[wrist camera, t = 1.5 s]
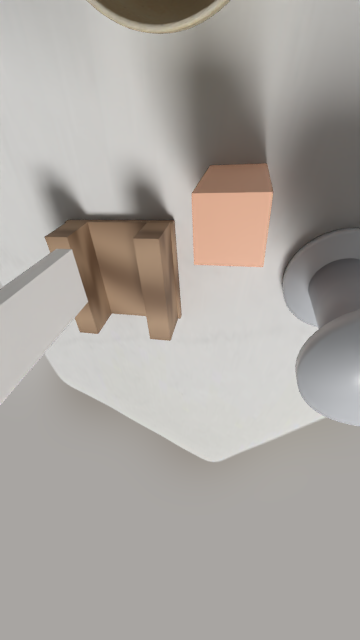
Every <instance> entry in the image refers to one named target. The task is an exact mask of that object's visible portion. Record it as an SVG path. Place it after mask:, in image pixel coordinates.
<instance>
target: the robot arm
mask: <svg viewBox="0 0 360 640" xmlns="http://www.w3.org/2000/svg"><path fill="white" fill-rule="evenodd" d="M87 303H88V300H87V296H86V293H85V290H84V287H83V284H82V280H81V277H80V274H79V271H78V267H77V264H76V261H75V258H74V254H73V251H72V249H55V250H54V251H53V252H51V253H50V254H48V255H47V256H46V257H44V258H43V259H41V260H40V261H39V262H37V263H36V264H34V265H33V266H32V267H30V268H29V269H28V270H26V271H25V272H23V273H22V274H21V275H19V276H18V277H16V278H15V279H14V280H12V281H11V282H9V283H8V284H7V285H5V286H4V287H2V288H1V289H0V405H1V404H2V403H3V401H4V400H5V399H6V398H7V397H8V396H9V394H10V393H11V392H12V391H13V390H14V389H15V387H16V386H17V385H18V384H19V383H20V382H21V380H22V379H23V378H24V377H25V376H26V374H27V373H28V372H29V371H30V370H31V369H32V367H33V366H34V365H35V364H36V363H37V361H38V360H39V359H40V358H41V357H42V355H43V354H44V353H45V352H46V351H47V350H48V349H49V347H50V346H51V345H52V344H53V343H54V341H55V340H56V339H57V338H58V337H59V336H60V334H61V333H62V332H63V331H64V330H65V329H66V327H67V326H68V325H69V324H70V323H71V321H72V320H73V319H74V318H75V317H76V316H77V314H78V313H79V312H80V311H81V310H82V309H83V307H84V306H85V305H86V304H87Z"/></svg>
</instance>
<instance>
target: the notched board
mask: <svg viewBox="0 0 360 640" xmlns="http://www.w3.org/2000/svg"><path fill="white" fill-rule="evenodd" d="M45 239H46V242H47V245H48V247H49V250H50V253H51V252H53V251H54V250H55V249H72V251H73V254H74V258H75V261H76V264H77V267H78V271H79V274H80V277H81V280H82V284H83V287H84V290H85V293H86V296H87V300H88V303H87V304H86V305H85V306H84V307H83V309H82V310H81V311H80V312H79V313H78V314H77V316H76V317H75V320H76V322H77V325H78V328H79V330H80V332H84V333H94V334H98V333H99V332H100V330H101V329H102V327H103V326H104V324H105V323H106V321H107V320H108V318H109V317H110V315H111V314H112V313H114V314H127V315H140V316H146V317H147V322H148V328H149V334H150V339H158V340H169V341H170V340H171V337H172V334H173V332H174V329H175V326H176V323H177V320H178V318H179V319H180V318H181V301H180V288H179V274H178V261H177V248H176V234H175V221H174V220H67V221H66V222H65V224H64V225H62V226H61V227H59V228H57V229H56V230H54V231H53V232H51V233H50V234H48V235H47V236H45Z"/></svg>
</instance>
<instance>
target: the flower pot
mask: <svg viewBox="0 0 360 640" xmlns="http://www.w3.org/2000/svg"><path fill="white" fill-rule="evenodd" d="M86 1H87V2H89V3H90V4H91V5H92V6H93V7H94V8H96V9H97V10H98V11H99V12H100V13H102V14H103V15H105V16H106V17H108V18H109V19H111V20H113V21H115V22H116V23H118V24H120V25H122V26H125V27H127V28H130V29H133V30H137V31H141V32H147V33H156V34H163V33H173V32H179V31H182V30H186V29H189V28H191V27H194V26H196V25H198V24H200V23H202V22H204V21H205V20H207V19H209V18H210V17H212V16H213V15H214V14H216V13H217V12H218V11H220V10H221V9H222V8H223V7H224V6H225V5H226V4H227V3H228V2H229V1H230V0H86Z"/></svg>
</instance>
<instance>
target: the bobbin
mask: <svg viewBox="0 0 360 640" xmlns="http://www.w3.org/2000/svg"><path fill="white" fill-rule="evenodd" d="M282 284H283V294H284V299H285V302H286V305H287V307H288V308H289V310H290V311H291V312H292V313H293V315H295V316H296V317H297V318H298V319H300V320H301V321H303V322H305V323H307V324H309V325H312V326H316V327H318V328H319V330H317V331H316V332H315V333H314V334H313V335H312V336H311V337H310V338H309V339H308V340H307V341H306V342H305V344H304V345H303V347H302V348H301V350H300V352H299V354H298V357H297V360H296V365H295V367H296V378H297V384H298V388H299V392H300V394H301V396H302V398H303V399H304V400H305V402H306V403H307V404H308V405H309V406H310V407H311V408H312V409H314V410H315V411H316V412H318V413H320V414H322V415H323V416H325V417H328V418H330V419H333V420H335V421H338V422H341V423H346V424H350V425H356V426H360V228H346V229H340V230H336V231H332V232H329V233H326V234H323V235H321V236H319V237H317V238H315V239H313V240H312V241H310V242H309V243H307V244H306V245H305V246H303V247H302V248H301V249H300V250H299V251H298V252H297V253H296V254H295V255H294V257H293V258H292V259H291V260H290V262H289V264H288V266H287V268H286V270H285V273H284V276H283V283H282Z"/></svg>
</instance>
